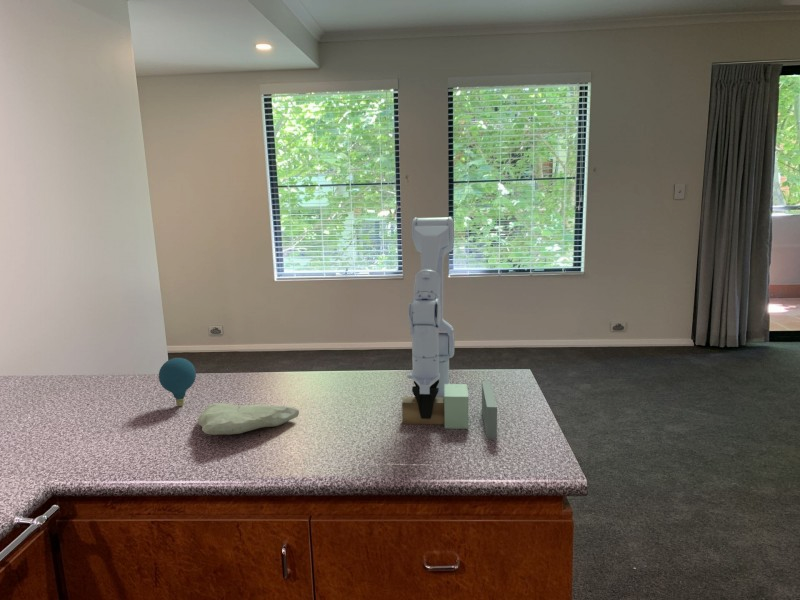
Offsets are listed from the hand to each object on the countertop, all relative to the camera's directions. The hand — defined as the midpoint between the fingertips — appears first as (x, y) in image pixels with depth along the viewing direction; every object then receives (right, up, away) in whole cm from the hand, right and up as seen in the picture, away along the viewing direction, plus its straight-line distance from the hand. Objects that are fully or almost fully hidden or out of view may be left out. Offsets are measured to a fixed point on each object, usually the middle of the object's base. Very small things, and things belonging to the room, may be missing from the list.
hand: (426, 414), depth 118 cm
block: (+6, -1, 0) cm, 7 cm away
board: (+13, -2, -2) cm, 14 cm away
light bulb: (-60, -1, +13) cm, 61 cm away
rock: (-41, -4, -2) cm, 42 cm away
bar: (+1, -2, 0) cm, 2 cm away
